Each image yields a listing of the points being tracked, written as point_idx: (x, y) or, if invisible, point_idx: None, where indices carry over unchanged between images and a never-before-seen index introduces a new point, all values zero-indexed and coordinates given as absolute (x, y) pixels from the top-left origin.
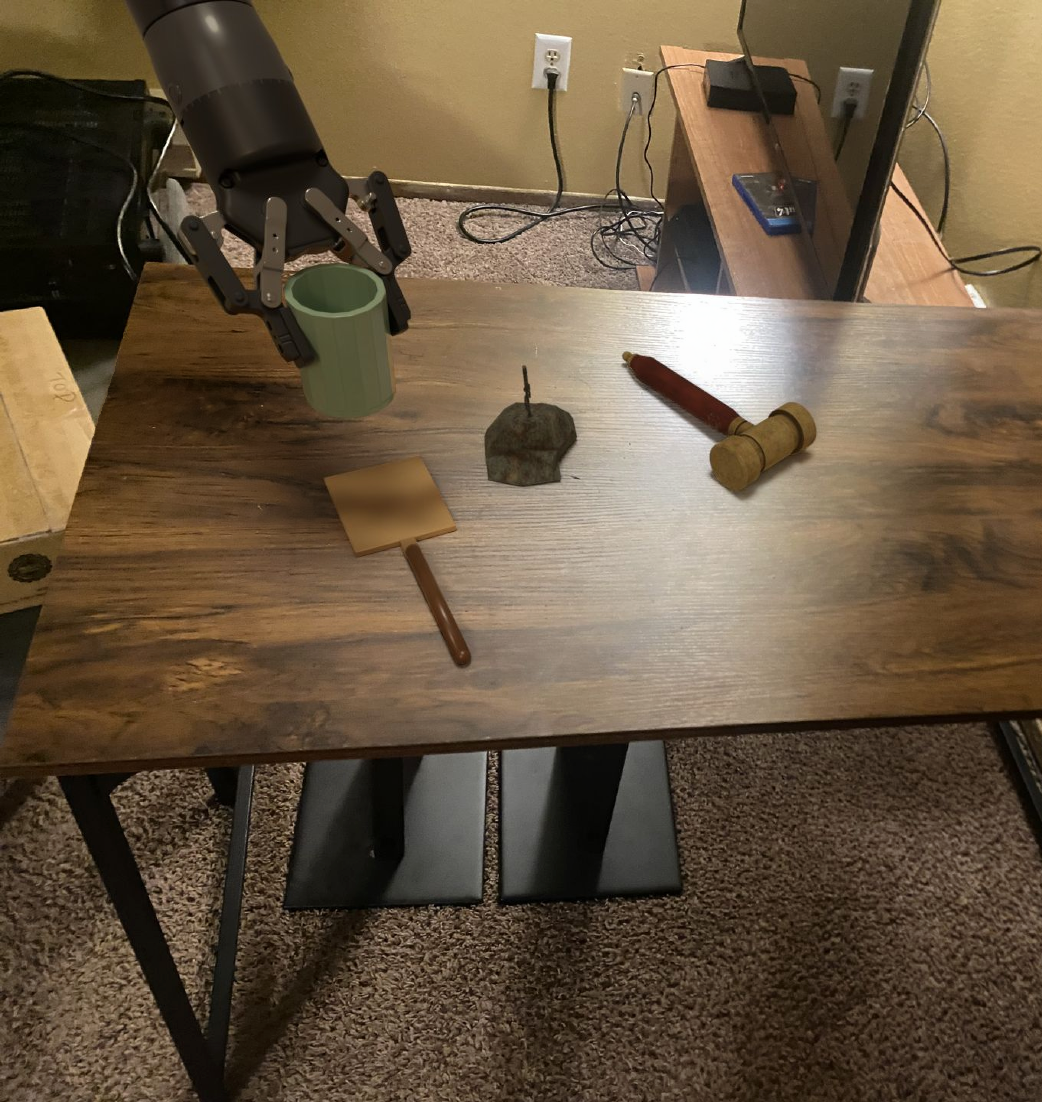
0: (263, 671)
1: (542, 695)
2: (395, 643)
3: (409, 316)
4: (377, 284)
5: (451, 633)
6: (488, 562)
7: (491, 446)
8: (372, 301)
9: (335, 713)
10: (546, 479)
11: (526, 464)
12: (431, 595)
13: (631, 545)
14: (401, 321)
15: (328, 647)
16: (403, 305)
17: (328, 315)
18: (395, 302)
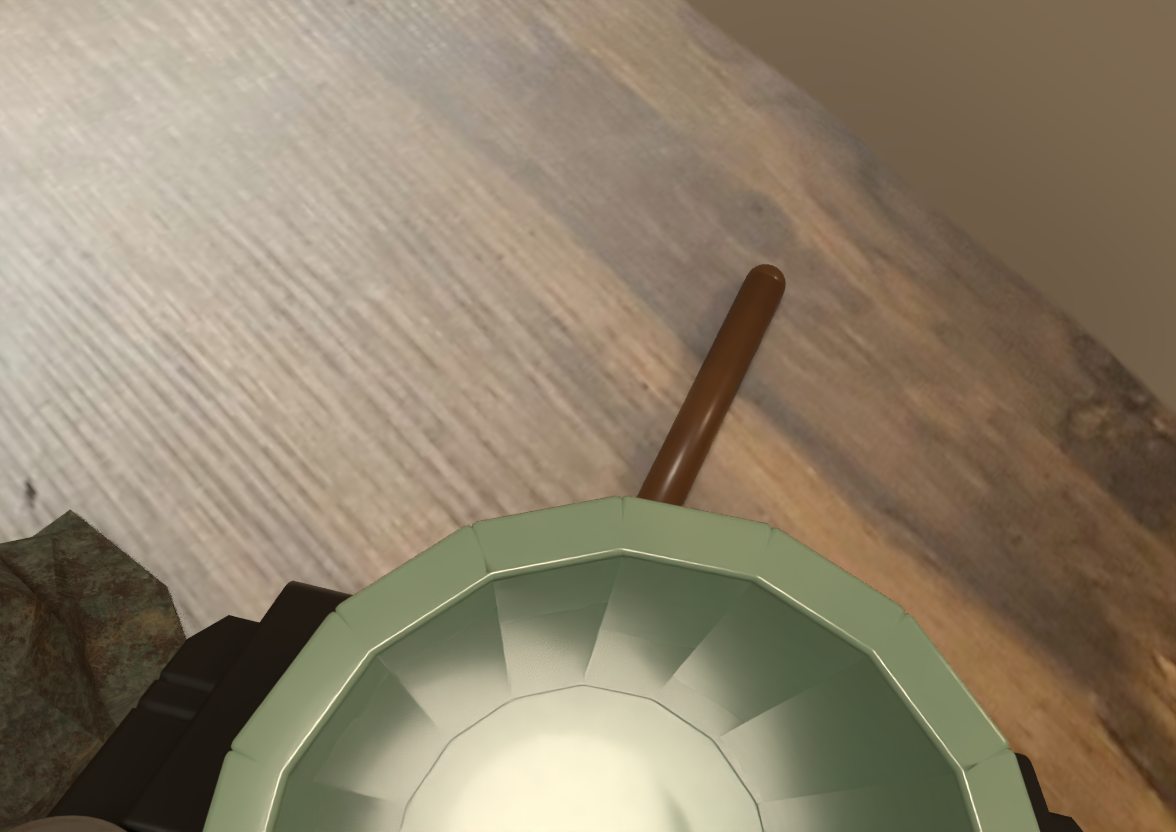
0: (1118, 617)
1: (706, 115)
2: (836, 444)
3: (227, 622)
4: (315, 715)
5: (748, 328)
6: (480, 455)
7: (98, 733)
8: (530, 557)
9: (1058, 403)
10: (99, 540)
11: (91, 606)
12: (695, 448)
13: (186, 220)
14: (318, 601)
15: (961, 556)
16: (196, 674)
17: (918, 645)
18: (247, 676)
